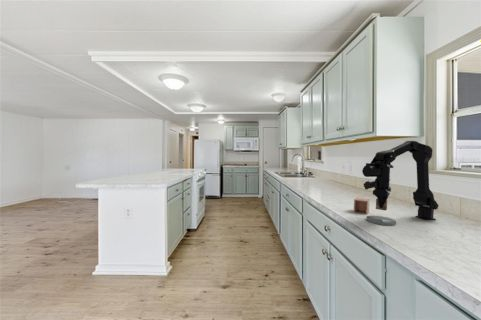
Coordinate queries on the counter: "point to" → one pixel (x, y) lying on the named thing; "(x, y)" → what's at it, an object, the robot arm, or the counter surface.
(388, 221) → the slate dish
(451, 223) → the counter surface
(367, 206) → the terracotta hood
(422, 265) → the counter surface
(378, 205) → the walnut block
